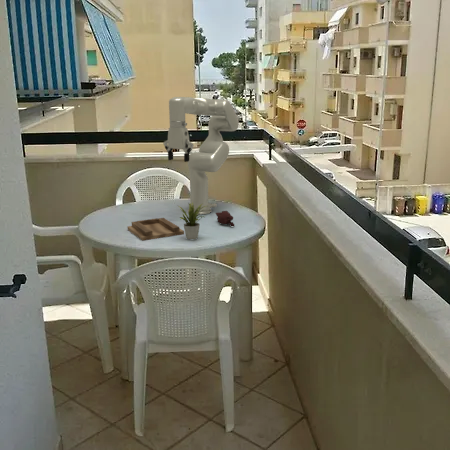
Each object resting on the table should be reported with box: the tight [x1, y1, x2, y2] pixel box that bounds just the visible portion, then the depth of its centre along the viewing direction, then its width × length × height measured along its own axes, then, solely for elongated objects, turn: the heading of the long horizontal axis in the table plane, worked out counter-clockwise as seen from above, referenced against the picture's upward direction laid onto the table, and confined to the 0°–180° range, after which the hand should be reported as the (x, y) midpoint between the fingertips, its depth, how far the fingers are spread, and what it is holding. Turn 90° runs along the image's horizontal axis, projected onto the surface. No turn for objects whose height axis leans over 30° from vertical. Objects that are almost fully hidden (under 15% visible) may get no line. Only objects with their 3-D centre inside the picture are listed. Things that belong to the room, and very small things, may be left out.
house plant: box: [178, 203, 206, 240], centre depth 223 cm, size 14×14×16 cm
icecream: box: [215, 210, 235, 227], centre depth 246 cm, size 7×7×15 cm
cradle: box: [127, 217, 185, 242], centre depth 234 cm, size 20×20×4 cm
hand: (178, 160), depth 246 cm, fingers open, 9 cm apart
